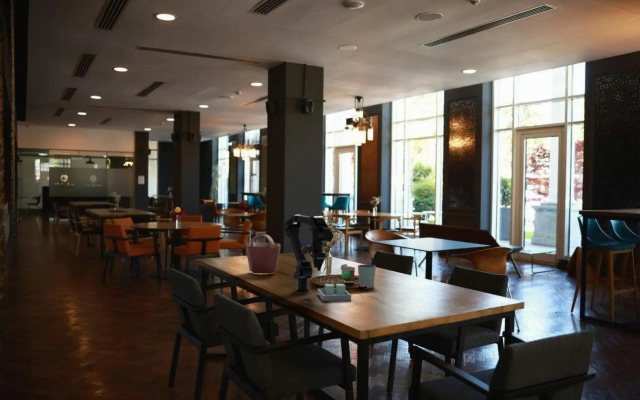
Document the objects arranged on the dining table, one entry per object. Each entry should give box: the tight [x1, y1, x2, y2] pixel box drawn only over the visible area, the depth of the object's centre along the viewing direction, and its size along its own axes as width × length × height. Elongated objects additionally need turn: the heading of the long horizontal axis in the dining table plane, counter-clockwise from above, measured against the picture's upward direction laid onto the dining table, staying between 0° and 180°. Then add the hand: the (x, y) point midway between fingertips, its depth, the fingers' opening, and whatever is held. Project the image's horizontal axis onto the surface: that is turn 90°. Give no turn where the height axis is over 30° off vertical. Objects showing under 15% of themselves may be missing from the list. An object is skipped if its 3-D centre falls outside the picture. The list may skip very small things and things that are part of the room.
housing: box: [317, 283, 352, 302], centre depth 260 cm, size 17×14×6 cm
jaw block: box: [324, 283, 335, 295], centre depth 260 cm, size 4×4×6 cm
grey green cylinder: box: [357, 264, 377, 289], centre depth 288 cm, size 10×10×12 cm
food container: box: [340, 263, 356, 282], centre depth 299 cm, size 12×6×10 cm, turn 21°
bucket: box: [245, 234, 281, 273], centre depth 331 cm, size 24×22×25 cm
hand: (317, 269), depth 269 cm, fingers open, 9 cm apart
